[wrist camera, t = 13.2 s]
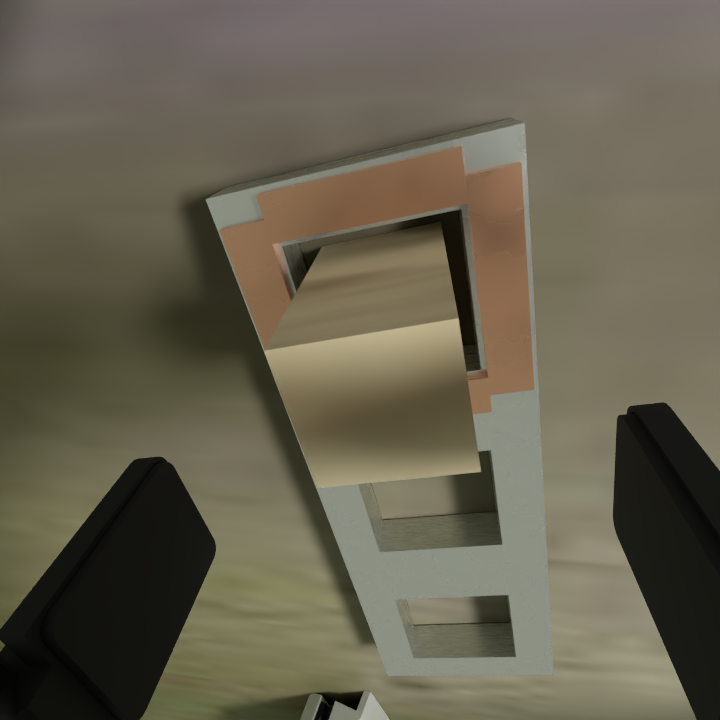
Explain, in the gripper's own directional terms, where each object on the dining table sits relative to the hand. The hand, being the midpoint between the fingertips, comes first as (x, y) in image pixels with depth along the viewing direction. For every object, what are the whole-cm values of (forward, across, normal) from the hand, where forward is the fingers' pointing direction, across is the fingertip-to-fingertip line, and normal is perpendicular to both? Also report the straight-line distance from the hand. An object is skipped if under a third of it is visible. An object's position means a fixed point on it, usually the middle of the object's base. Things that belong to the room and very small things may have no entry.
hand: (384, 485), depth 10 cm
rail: (+10, 0, +9) cm, 14 cm away
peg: (+10, 0, 0) cm, 10 cm away
